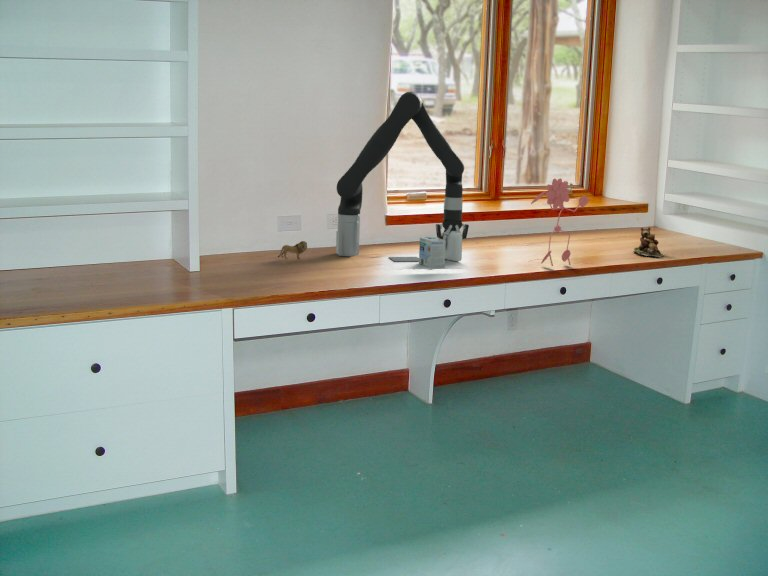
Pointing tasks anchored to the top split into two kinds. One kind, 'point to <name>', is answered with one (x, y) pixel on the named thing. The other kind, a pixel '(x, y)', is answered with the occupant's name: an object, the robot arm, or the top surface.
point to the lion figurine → (294, 249)
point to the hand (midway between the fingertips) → (451, 248)
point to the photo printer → (453, 246)
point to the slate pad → (404, 259)
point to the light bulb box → (432, 252)
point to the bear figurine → (648, 244)
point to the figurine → (557, 197)
